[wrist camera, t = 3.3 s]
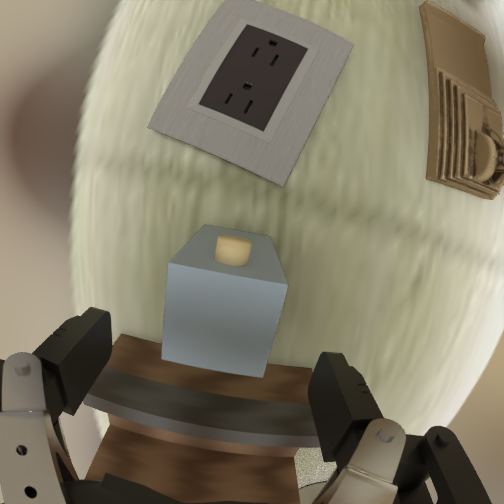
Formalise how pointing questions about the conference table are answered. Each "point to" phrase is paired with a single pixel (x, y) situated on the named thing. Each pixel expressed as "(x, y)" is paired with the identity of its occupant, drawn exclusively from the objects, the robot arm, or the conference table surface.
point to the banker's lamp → (461, 107)
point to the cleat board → (201, 427)
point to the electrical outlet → (252, 87)
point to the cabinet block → (223, 301)
